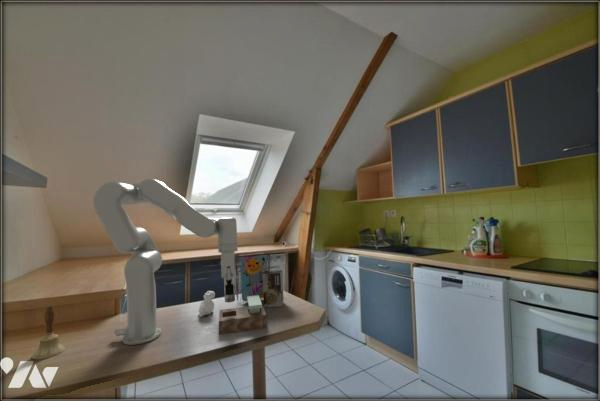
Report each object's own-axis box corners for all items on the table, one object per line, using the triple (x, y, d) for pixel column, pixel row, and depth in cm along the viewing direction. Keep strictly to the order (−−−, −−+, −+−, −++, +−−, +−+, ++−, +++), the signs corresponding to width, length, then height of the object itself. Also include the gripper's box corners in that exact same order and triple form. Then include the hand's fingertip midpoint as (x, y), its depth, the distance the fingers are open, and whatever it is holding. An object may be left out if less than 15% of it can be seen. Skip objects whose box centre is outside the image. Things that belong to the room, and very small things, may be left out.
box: (221, 310, 125) (220, 258, 125) (219, 306, 130) (218, 256, 131) (272, 300, 135) (270, 252, 136) (268, 297, 141) (266, 251, 142)
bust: (204, 323, 115) (220, 301, 117) (190, 314, 114) (206, 292, 116) (209, 313, 127) (224, 293, 128) (196, 304, 126) (211, 284, 128)
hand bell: (69, 344, 96) (69, 300, 97) (58, 356, 88) (58, 307, 89) (39, 350, 93) (39, 304, 93) (26, 362, 85) (26, 312, 86)
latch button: (249, 320, 103) (249, 306, 103) (247, 309, 114) (247, 296, 115) (262, 319, 104) (262, 304, 104) (259, 308, 116) (258, 295, 116)
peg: (224, 303, 104) (223, 277, 105) (224, 299, 108) (224, 275, 109) (235, 301, 105) (234, 276, 106) (234, 298, 109) (234, 274, 110)
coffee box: (284, 302, 132) (283, 269, 133) (281, 307, 126) (280, 273, 126) (266, 302, 133) (265, 270, 134) (263, 307, 127) (262, 273, 127)
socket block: (219, 334, 100) (218, 321, 100) (219, 321, 111) (219, 309, 111) (266, 327, 104) (266, 314, 105) (262, 315, 116) (262, 304, 116)
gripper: (219, 245, 115) (220, 288, 114) (217, 251, 98) (219, 301, 98) (236, 244, 117) (238, 286, 116) (238, 249, 100) (240, 298, 100)
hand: (229, 292), depth 107 cm, fingers closed on peg, 4 cm apart
